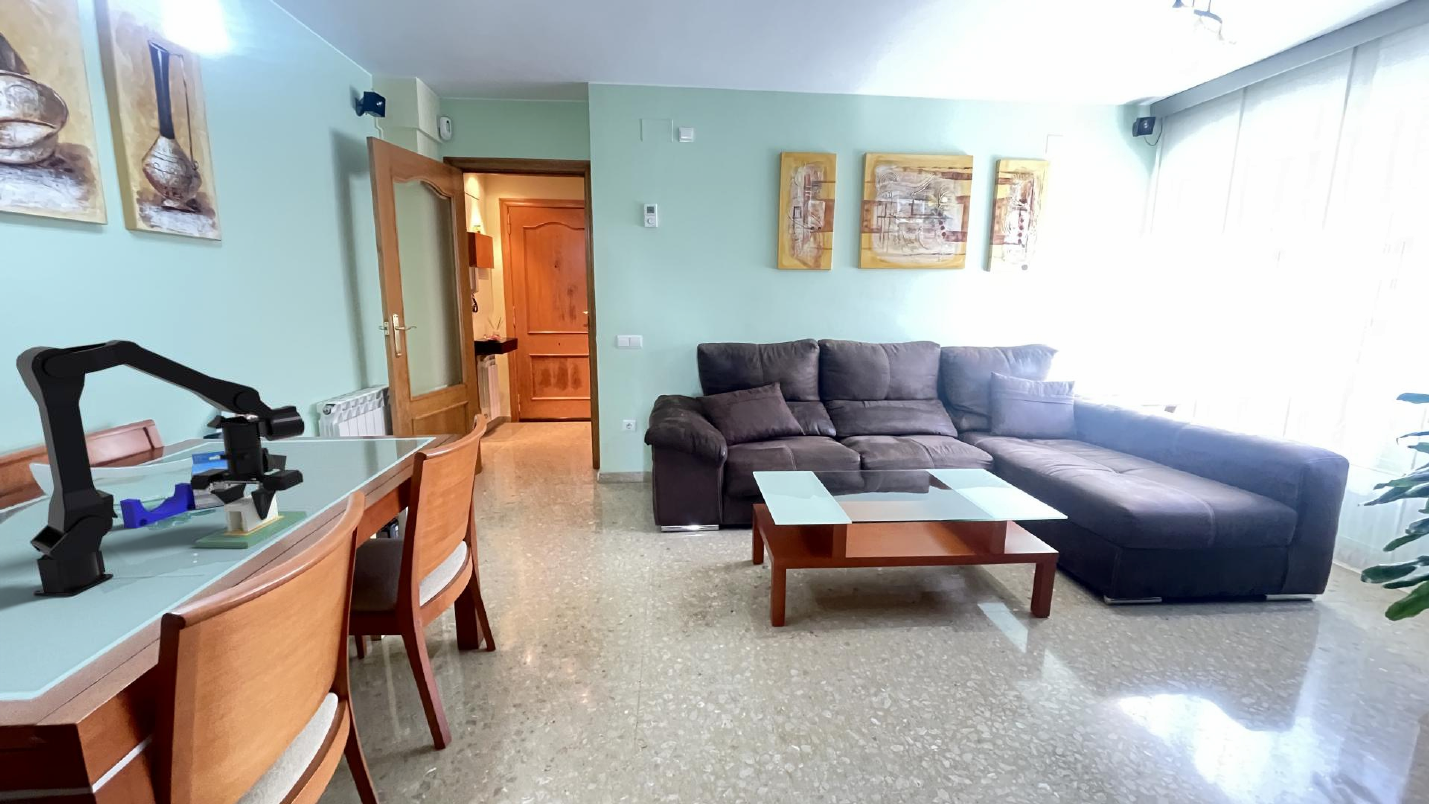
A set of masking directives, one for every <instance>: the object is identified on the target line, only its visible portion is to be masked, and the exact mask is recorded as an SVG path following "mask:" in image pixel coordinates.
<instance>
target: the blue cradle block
mask: <svg viewBox="0 0 1429 804" xmlns="http://www.w3.org/2000/svg"><path fill="white" fill-rule="evenodd" d="M141 501H142V500H141V499H137V498H136V499H135V498H125V499H122V500H120V501H119V504H120V510H121V511H120V512H121V515H122V520H123V525H124V528H125V529H126V528H127V529H128V528H129V529H139V528H142V527H145V526H148V525H150V524H154V523H156V521H157V522H159V521H162V520H165V519H168V518H171V517H173V516H174V517H175V516H178V515H180V514H183V513H185V512H189V511H191V510H194V509H195V510H196V506H195V500H194V493H193V490H191V484H190V483H188V482H180V483H175V484H174V492H173V495H172V496H169V497H167V498H165V499H164V501H162V503H160V504H159V505H158V506H156V507H155V508H153V509H150V510H148V509H146V508H145V507H144V506H143V504H142V502H141Z"/></svg>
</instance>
